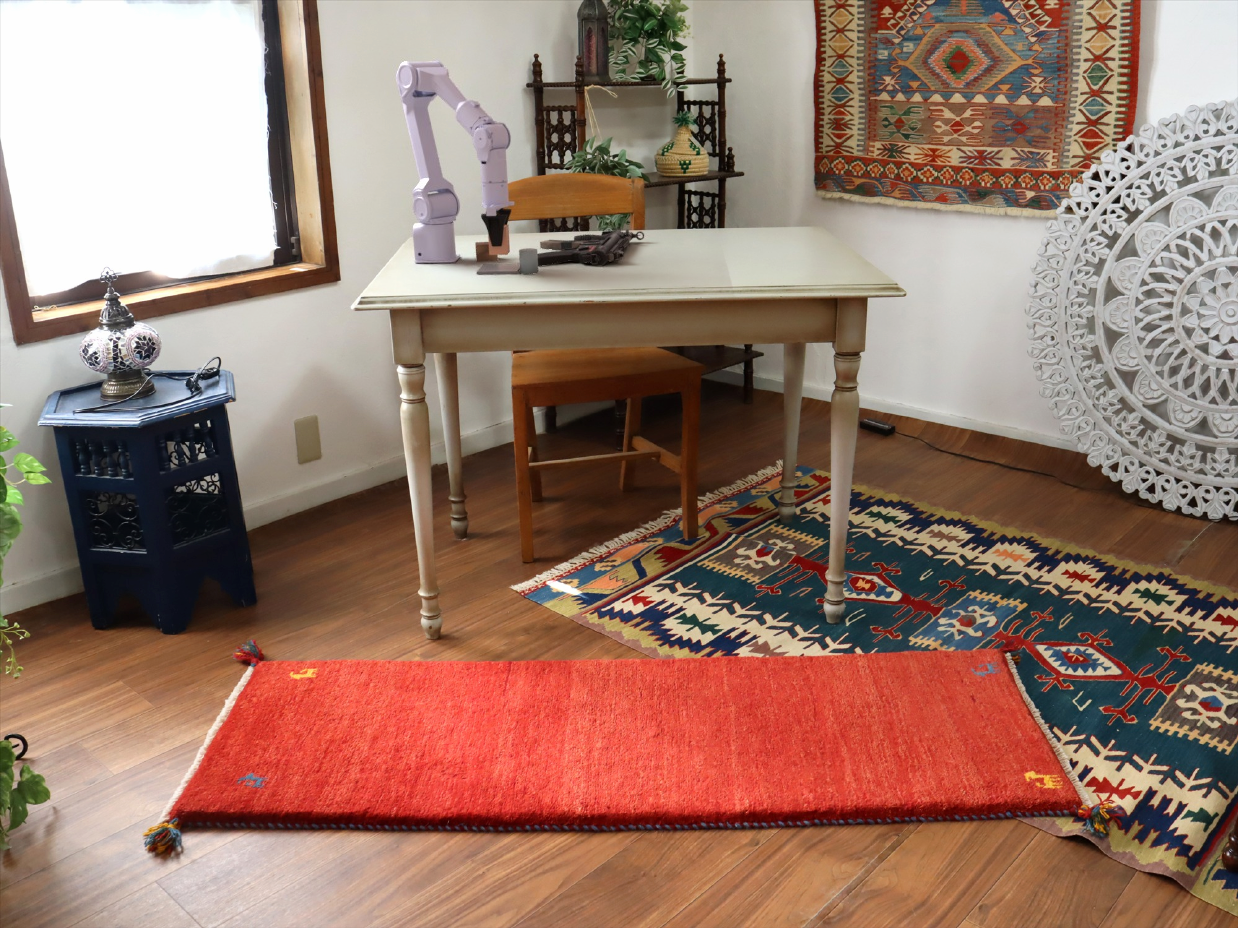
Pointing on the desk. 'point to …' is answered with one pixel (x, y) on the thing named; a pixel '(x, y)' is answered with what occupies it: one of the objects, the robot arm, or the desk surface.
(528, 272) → the grey teal cylinder
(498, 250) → the terracotta block
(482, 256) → the walnut block
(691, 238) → the desk surface
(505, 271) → the slate pad
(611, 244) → the submachine gun
